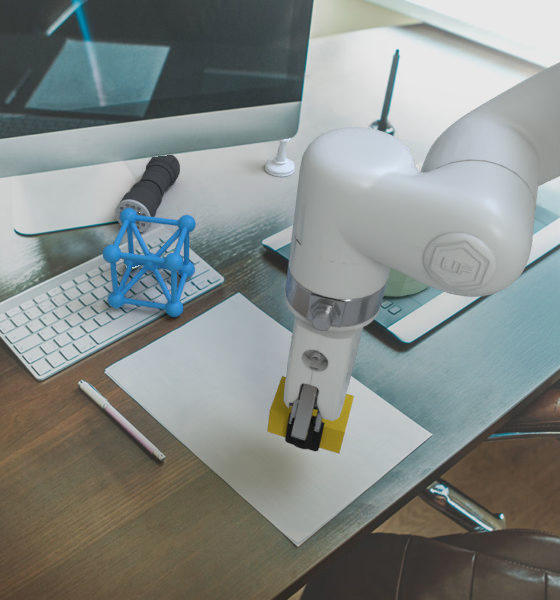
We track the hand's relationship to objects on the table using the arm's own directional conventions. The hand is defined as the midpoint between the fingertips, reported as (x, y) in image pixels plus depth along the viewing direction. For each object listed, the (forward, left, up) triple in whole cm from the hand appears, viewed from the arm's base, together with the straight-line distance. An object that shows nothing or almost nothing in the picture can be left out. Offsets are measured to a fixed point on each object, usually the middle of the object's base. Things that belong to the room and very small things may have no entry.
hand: (308, 422), depth 63 cm
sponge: (0, 0, 0) cm, 0 cm away
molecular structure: (+25, -18, -6) cm, 31 cm away
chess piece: (+17, -53, -6) cm, 56 cm away
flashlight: (+33, -36, -6) cm, 49 cm away
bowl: (-2, -35, -6) cm, 36 cm away
